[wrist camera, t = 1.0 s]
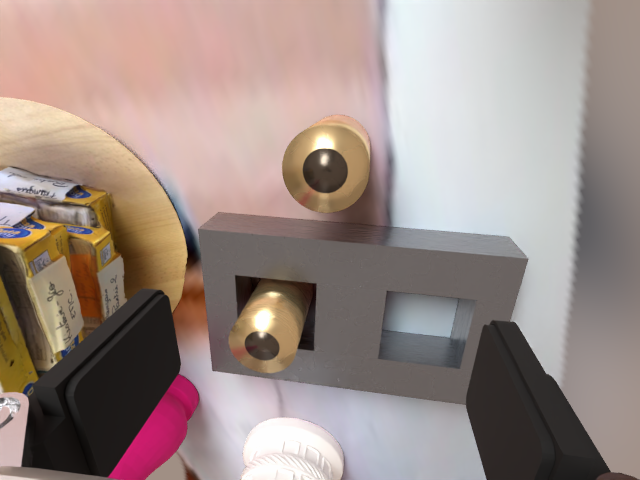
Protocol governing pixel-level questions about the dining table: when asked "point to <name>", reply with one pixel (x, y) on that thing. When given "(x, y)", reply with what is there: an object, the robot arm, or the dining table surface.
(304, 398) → the dining table surface
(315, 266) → the jig
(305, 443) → the decorative container
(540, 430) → the robot arm
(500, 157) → the dining table surface
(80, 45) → the dining table surface
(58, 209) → the stacked packages on plate
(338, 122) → the bushing
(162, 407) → the pepper mill
